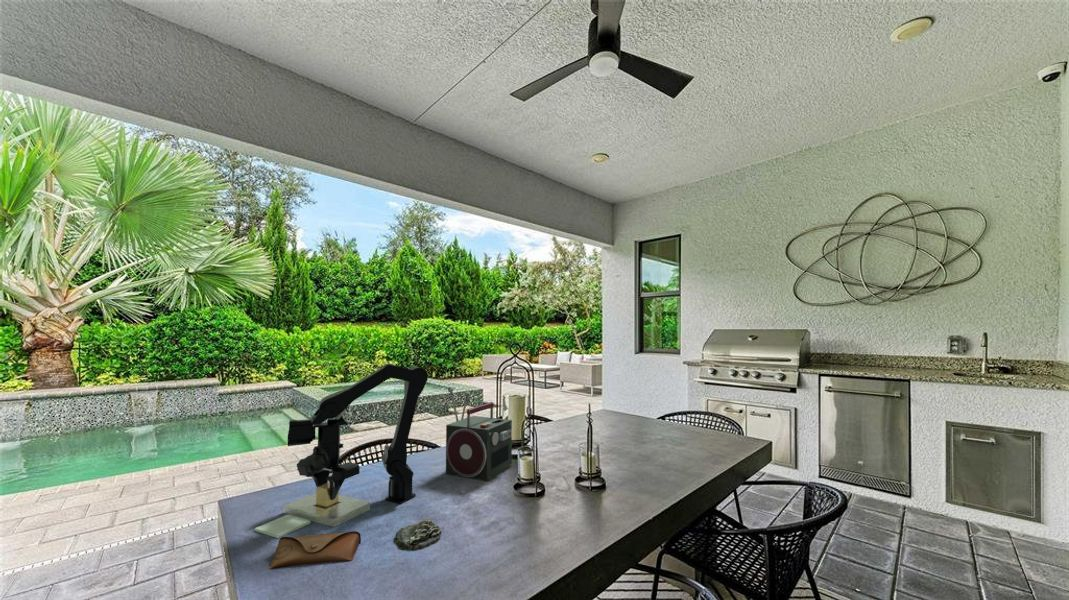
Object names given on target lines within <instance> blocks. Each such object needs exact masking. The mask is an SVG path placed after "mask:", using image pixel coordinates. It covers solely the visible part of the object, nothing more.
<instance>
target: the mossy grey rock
mask: <svg viewBox="0 0 1069 600" xmlns="http://www.w3.org/2000/svg"><path fill="white" fill-rule="evenodd" d="M441 529H442V527H440V526H438V525H437V524H436V523H435V522H434V521H432V520H425V519H422V520H421V521H420V522H418V523H415V524H411V525H410V524H409V525H406V526H404V527H401V528H400V529H399V530H398V531H397V532H396V533H395V536H394V537H395V538H394V543H395V545H396V546H397V547H398V548H399V549H401V550H403V551H404V550H405V551H419V550H423V549H426V548H428V547H430V546H433V545H435V544H436V543H438V542H439V541H440V540H441V535H442V531H441Z"/></svg>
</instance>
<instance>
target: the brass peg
mask: <svg viewBox="0 0 1069 600" xmlns="http://www.w3.org/2000/svg"><path fill="white" fill-rule="evenodd" d="M315 489H316V492H315V493H316V507H320V508H323V509H327V508H329V507H332V506H334V505H336V504H338V495H339V491H340V490H339V491H338V494H337V496H336V498H335V499H334V500H331V498H330V482H329V481H328V483H326V484H323V485H320V486H318V487H316V488H315Z"/></svg>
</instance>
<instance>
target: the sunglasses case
mask: <svg viewBox="0 0 1069 600" xmlns="http://www.w3.org/2000/svg"><path fill="white" fill-rule="evenodd" d="M361 541H362V537H361V533H360V532H359V531H356V530H351V531H346V532H341V533H340V532H339V533H336V532H335V533H323V534H312V535H311V534H310V535H302V536H301V535H300V536H281V537H279V540H278V544H277V546H276V550H275V552H274V555H273V558H272V560H271V563H270V566H269V567H268V568H267V570H274V569H275V570H276V569H281V568H287V567H294V566H295V567H296V566H306V565H313V564H314V565H316V564H325V563H326V564H327V563H333V562H334V563H337V562H350V561H351V562H352V561H353V560H354V557H355V555H356V553H357V552H358V551H357V550H358V549H359V546H360V545H361V544H362V543H361Z"/></svg>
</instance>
